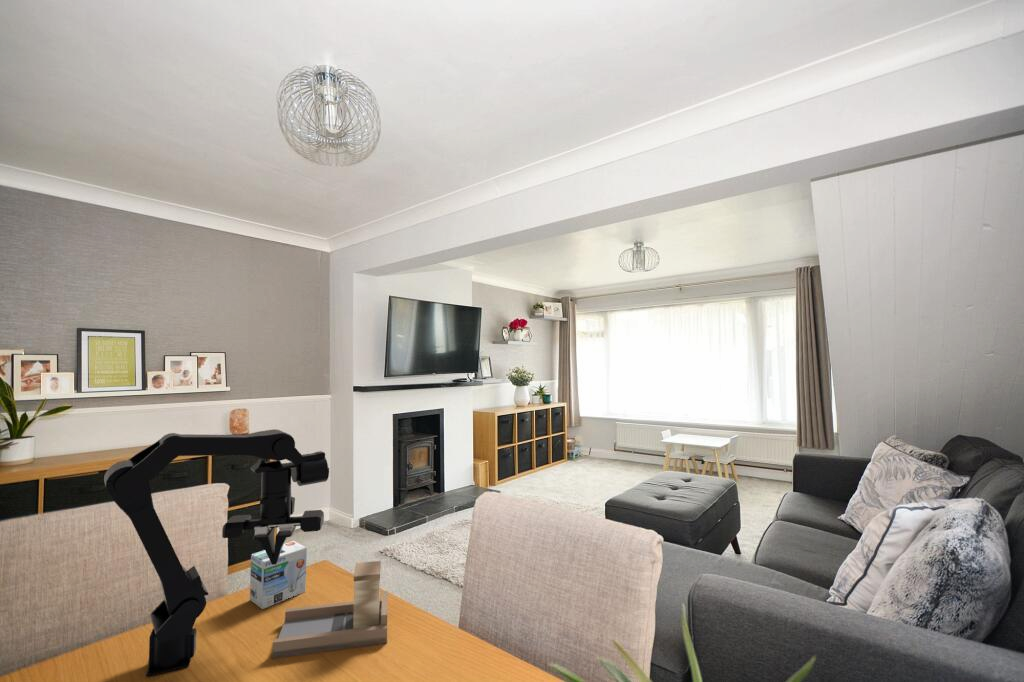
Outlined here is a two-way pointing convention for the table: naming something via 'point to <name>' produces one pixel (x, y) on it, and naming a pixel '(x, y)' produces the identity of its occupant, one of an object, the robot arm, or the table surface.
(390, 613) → the table surface
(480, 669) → the table surface
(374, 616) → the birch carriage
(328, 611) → the box
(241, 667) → the table surface
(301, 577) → the light bulb box
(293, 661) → the table surface
